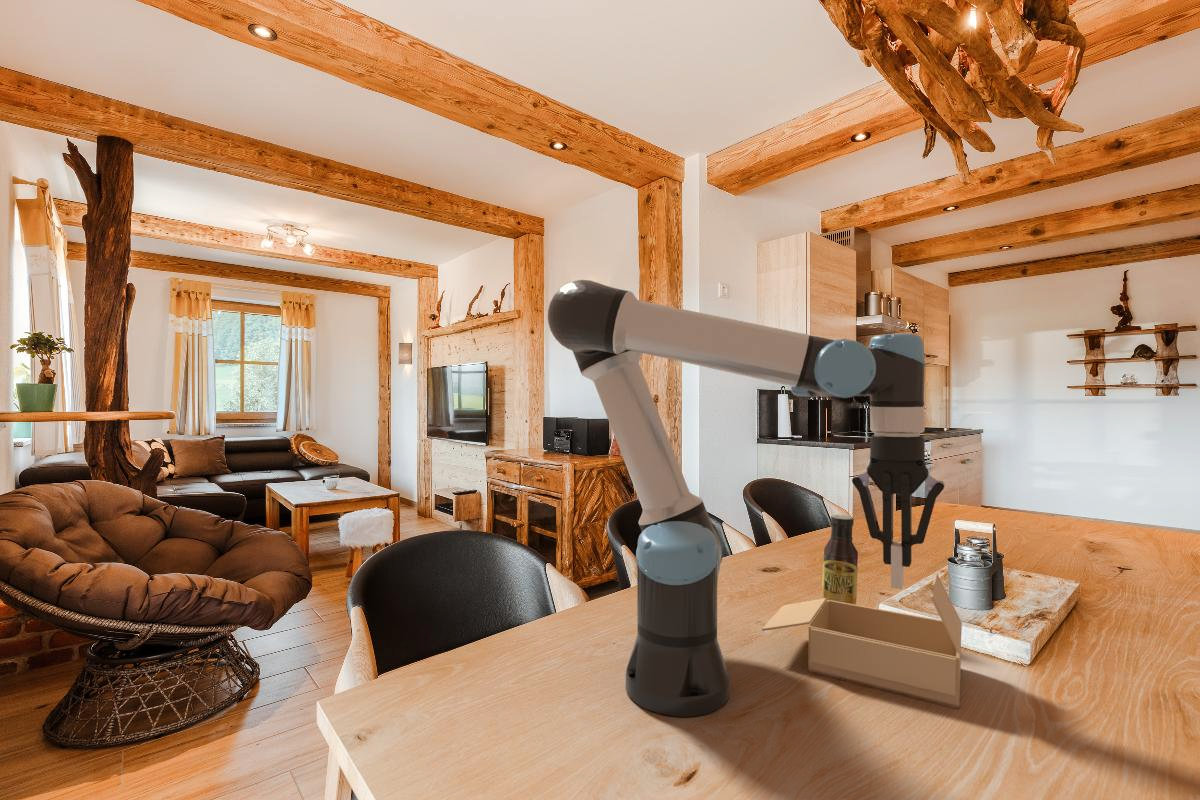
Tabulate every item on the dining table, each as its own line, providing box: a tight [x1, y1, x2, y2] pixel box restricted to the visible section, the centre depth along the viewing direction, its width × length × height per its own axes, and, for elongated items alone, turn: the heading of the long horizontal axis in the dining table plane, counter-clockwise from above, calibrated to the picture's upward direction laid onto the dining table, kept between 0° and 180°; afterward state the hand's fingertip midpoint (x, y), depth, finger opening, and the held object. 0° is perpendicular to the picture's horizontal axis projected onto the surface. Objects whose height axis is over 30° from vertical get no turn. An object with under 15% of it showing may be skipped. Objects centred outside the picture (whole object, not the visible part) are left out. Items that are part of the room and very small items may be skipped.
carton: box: [807, 600, 962, 710], centre depth 90 cm, size 15×20×7 cm
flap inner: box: [761, 598, 827, 632], centre depth 98 cm, size 13×1×8 cm
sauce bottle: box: [820, 514, 859, 608], centre depth 111 cm, size 6×6×20 cm
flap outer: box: [930, 572, 963, 654], centre depth 86 cm, size 13×1×8 cm, turn 147°
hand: (897, 585), depth 89 cm, fingers closed
